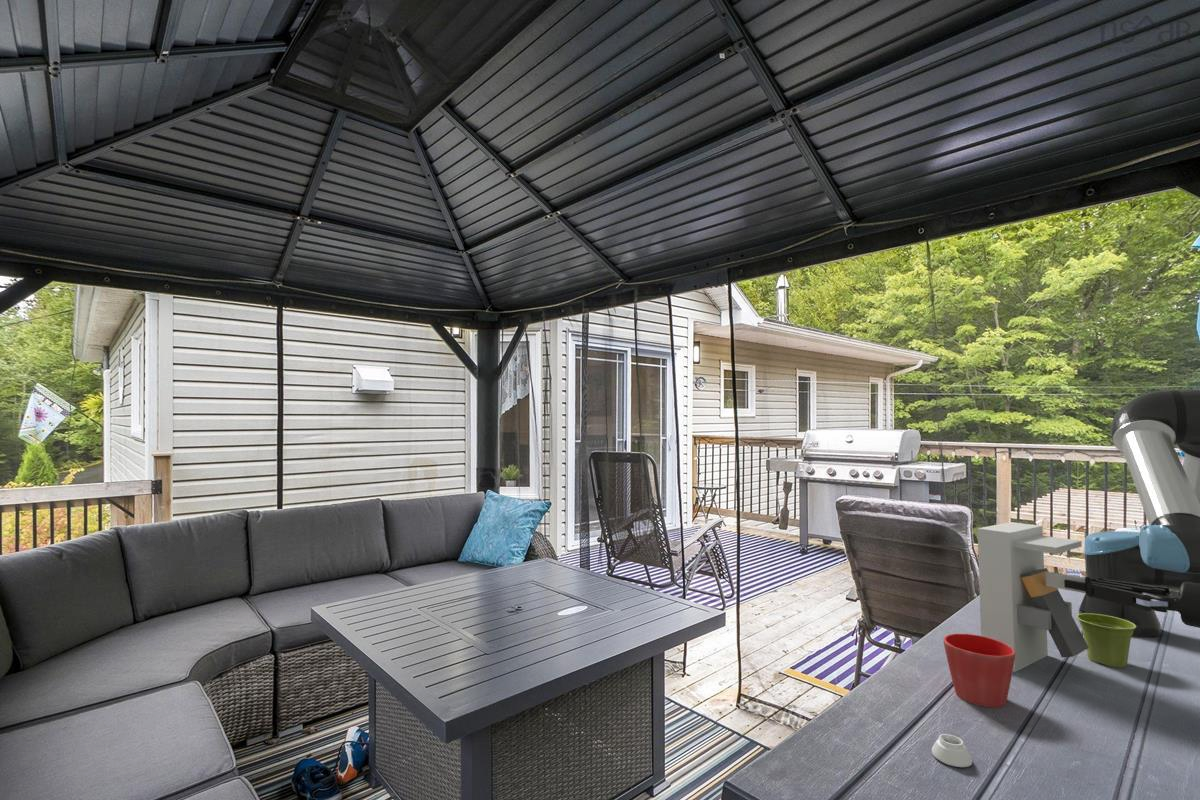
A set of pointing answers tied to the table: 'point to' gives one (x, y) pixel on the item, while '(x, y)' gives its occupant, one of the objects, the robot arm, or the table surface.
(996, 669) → the flower pot
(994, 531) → the box
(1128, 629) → the plant pot
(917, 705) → the table surface
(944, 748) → the white jar
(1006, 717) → the table surface
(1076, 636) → the breaker switch
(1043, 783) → the table surface
